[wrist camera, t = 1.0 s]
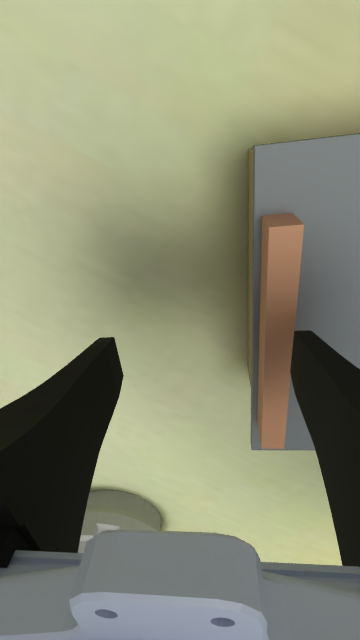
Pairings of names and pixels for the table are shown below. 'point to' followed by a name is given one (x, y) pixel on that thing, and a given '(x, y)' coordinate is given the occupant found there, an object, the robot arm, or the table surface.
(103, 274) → the table surface
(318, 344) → the robot arm
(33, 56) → the table surface
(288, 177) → the sliding lid
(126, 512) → the flag stand
